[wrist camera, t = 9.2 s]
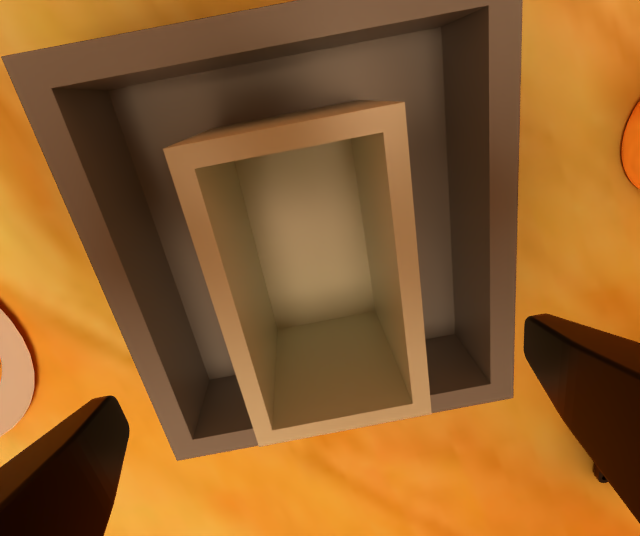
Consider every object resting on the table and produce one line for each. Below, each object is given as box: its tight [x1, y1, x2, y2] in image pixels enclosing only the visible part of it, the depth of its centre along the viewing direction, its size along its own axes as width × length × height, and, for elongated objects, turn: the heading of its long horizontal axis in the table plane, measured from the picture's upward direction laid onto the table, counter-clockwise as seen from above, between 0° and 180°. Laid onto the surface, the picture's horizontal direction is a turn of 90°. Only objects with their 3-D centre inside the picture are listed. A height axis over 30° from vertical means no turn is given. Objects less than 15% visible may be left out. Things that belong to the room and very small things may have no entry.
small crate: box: [163, 100, 432, 447], centre depth 15 cm, size 6×10×7 cm, turn 10°
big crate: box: [1, 0, 522, 461], centre depth 17 cm, size 15×16×5 cm
